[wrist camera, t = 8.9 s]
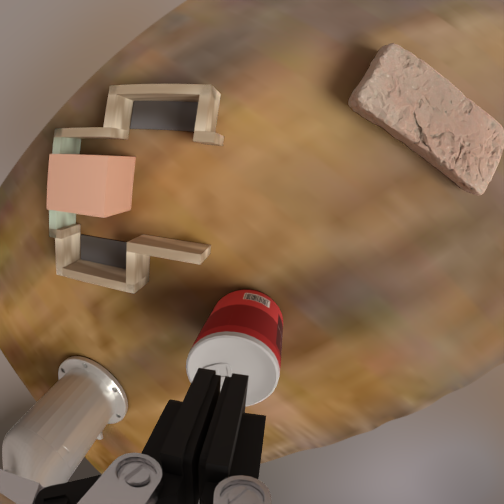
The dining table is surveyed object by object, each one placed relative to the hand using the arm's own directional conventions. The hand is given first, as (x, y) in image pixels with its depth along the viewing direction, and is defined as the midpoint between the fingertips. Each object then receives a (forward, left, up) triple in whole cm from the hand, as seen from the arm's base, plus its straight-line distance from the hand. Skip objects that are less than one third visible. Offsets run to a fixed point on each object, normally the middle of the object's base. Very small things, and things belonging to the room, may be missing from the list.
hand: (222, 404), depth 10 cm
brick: (+16, -15, -25) cm, 33 cm away
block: (+5, +20, -25) cm, 32 cm away
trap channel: (+4, +16, -25) cm, 29 cm away
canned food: (-9, +1, -25) cm, 26 cm away
